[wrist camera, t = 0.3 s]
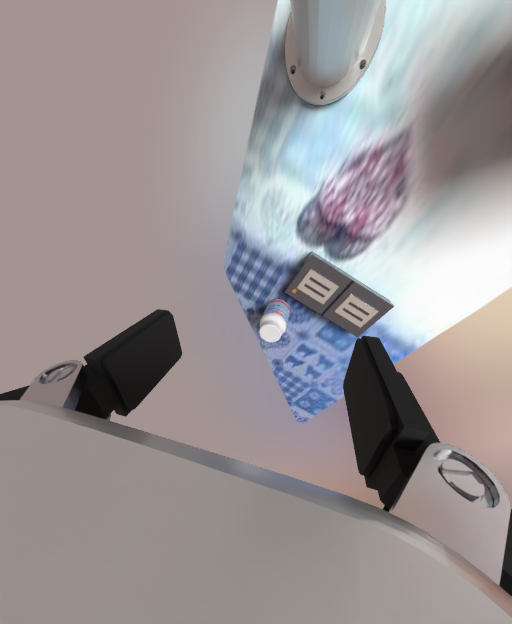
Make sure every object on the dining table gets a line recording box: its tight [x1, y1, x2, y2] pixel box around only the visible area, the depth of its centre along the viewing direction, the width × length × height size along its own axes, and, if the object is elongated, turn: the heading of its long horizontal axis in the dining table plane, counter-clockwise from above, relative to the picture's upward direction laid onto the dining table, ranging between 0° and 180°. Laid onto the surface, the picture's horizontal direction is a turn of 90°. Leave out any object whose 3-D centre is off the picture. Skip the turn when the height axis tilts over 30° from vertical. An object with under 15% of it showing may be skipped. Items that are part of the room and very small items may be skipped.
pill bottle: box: [259, 299, 290, 342], centre depth 44 cm, size 6×6×11 cm
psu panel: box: [285, 252, 394, 337], centre depth 42 cm, size 20×10×3 cm, turn 62°
